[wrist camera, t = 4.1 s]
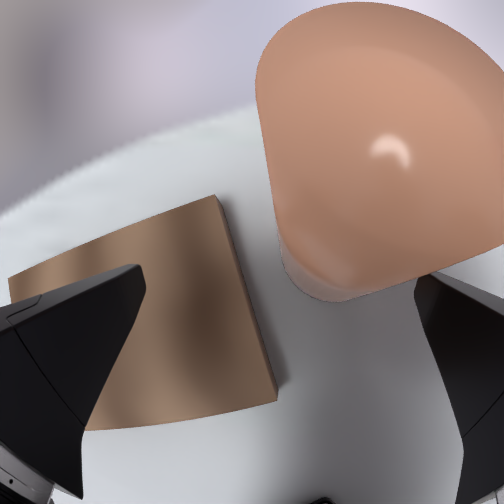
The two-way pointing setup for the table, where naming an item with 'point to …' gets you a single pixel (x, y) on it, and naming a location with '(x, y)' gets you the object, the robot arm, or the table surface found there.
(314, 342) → the table surface
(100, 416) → the shelf board
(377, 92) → the peach cylinder
